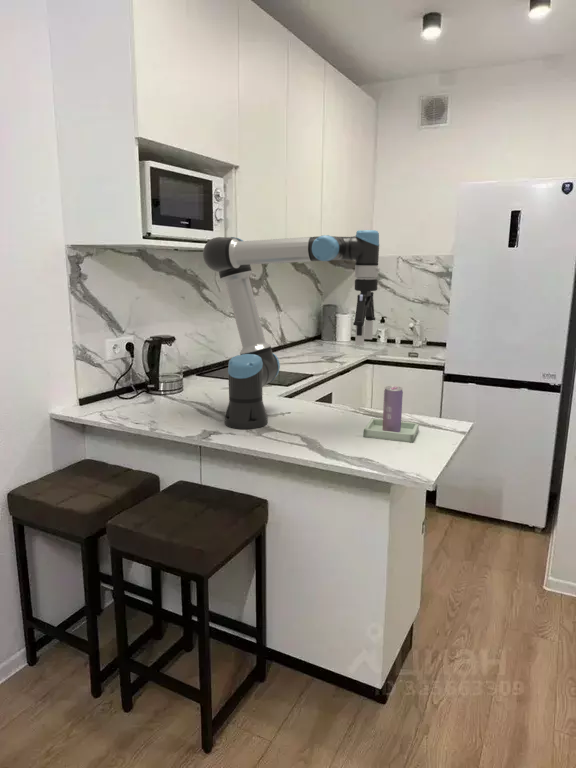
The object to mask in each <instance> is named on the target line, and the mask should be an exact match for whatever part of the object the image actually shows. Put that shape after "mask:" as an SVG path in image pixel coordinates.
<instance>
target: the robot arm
mask: <svg viewBox="0 0 576 768" xmlns="http://www.w3.org/2000/svg"><path fill="white" fill-rule="evenodd" d="M379 253H380V232H379V231H378V230H375V229H366V230H365V229H364V230H363V229H361V230H360V229H359V230H356V234H355V236H333V235H329V234H327V235H325V234H324V235H320V236H303V237H289V238H271V239H257V240H256V239H255V240H243V239H241V238H238V237H235V236H233V237H232V236H230V237H222V236H217V237H213V238H210V240H209V241H207V242H206V244H205V245H204V247H203V251H202V258H203V261H204V263H205V265H206V267H208V268H209V269H211V270H212V271H215V272H218V275H219V279H220V281H223V282H224V283H225V285H226V289H227V291H228V296H229V300H230V303H231V308H232V311H233V315H234V320H235V323H236V327H237V331H238V334H239V338H240V342H241V346H242V348H241V350H240V352H239V355H238V354H237V355H235V356H233V357H231V358H230V359H229V360H228V368H227V375H228V377H227V379H228V401H229V402H228V403H227V408H226V411H225V414H224V425H226V426H227V427H229V428H233V429H239V430H250V429H257V428H262V427H264V426H266V425H267V424H268V422H269V421H268V418H269V417H268V414H267V410H266V407H265V404H264V401H263V387H264V386H266V385H267V384H270V383H271V382H273V381H274V380H275V379H276V377H277V376H278V375H279V373H280V369H281V368H280V367H281V365H280V360H279V358H278V356H277V355H276V354H275V353H274V352H273V350H272V346H271V344H269V343H267V341H266V339H265V334H264V331H263V328H262V323H261V319H260V315H259V312H258V307H257V303H256V300H255V296H254V292H253V287H252V283H251V280H250V276H251V275H252V272H253V271H252V266H251V265H263V264H264V265H267V264H284V263H285V264H286V263H301V262H302V263H303V262H304V263H305V262H307V263H308V262H329V261H355V263H354V265H355V266H354V277H355V280H354V290H355V291H357V292H359V291H360V293H359V294H357V298H356V299H357V300H356V301H357V302H356V306H355V307H356V308H355V315H354V322H353V324H352V325H353V326H355V343H354V345H355V346H360V347H361V346H362V347H363V346H364V345H365V340H373V330H374V327H373V326H374V321H376V317H375V307H374V305H375V303H374V292H376V291H378V279H376V278H378V277H379V272H380V271H381V269H380V267H379Z"/></svg>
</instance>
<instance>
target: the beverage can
mask: <svg viewBox="0 0 576 768" xmlns="http://www.w3.org/2000/svg"><path fill="white" fill-rule="evenodd" d="M403 393H404V392H403V387H401V386H397V385H387V386H385V387H384V390H383V409H382V419H383V428H382V430H383V431H390V432H400V431H401V421H402V413H403Z"/></svg>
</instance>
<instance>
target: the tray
mask: <svg viewBox="0 0 576 768" xmlns="http://www.w3.org/2000/svg"><path fill="white" fill-rule="evenodd" d="M419 427H420V423H419V422H411V421H402V420H401V431H400V432H390V431H383V430H382V428H383V418H373V417H372V418H371V419H370V420H369V422H368V423H367V424H366V425H365V427H364V429H363V438H371V439H380V440H385V441H386V440H387V441H388V440H390V441H397V442H405V443H414V442H415V440H416V437H417V434H418V432H419Z"/></svg>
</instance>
